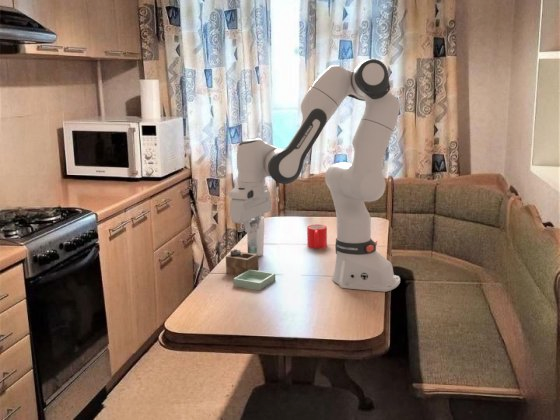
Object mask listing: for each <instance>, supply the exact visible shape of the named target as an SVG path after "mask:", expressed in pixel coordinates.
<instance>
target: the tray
mask: <svg viewBox="0 0 560 420" xmlns="http://www.w3.org/2000/svg"><path fill="white" fill-rule="evenodd" d="M232 280H233V282H232V283H233V286H234V287H238V288H239V287H240V288H244V289H249V290H256V291H262V290H263V289H265V288H266V287H268V286H269V285H271V284H273V283H274V282H275V281H276V273H274V272H268V271H261V270H258V271H256V270H250V269H249V270H248V271H246V272H244V273H242V274H241V275H237V276H235V277H234V278H233V279H232Z"/></svg>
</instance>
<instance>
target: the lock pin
mask: <svg viewBox="0 0 560 420" xmlns="http://www.w3.org/2000/svg"><path fill="white" fill-rule="evenodd" d="M250 226H251V227H252V232H250V233H247V240H246V242H247V253H252V254H253V253H257V220H250Z"/></svg>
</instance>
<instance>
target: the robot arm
mask: <svg viewBox="0 0 560 420" xmlns="http://www.w3.org/2000/svg"><path fill="white" fill-rule="evenodd" d="M390 90H391V85H390V76H389V70H388V67H387V66H386V65H385V63H384V62H382V61H381V60H379V59H375V58H369V59H366V60H363V61H362V62H360V63H359V64H358V65H357V66H356V68H354V69H353V70H348V69H346V68H344V67H343V66H340V65H336V64H335V65H334V64H333V65H330V66H329V67H327V68H326V69H325V70H324V71H323V72H322V73H321V74H320V75H319V76H318V78H317V79H316V80H315V81H314V82H313V83H312V85H311V87H309V88H308V90H307V92H306V93H305V95H304V97H303V99H302V101H301V103H300V112H301V115H302V116H301V117H302V120H301V121H302V122H301V125H300V126H299V128H298V129H297V131H296V133H295V134H294V136H293V138H292V139H291V141H290V142H289V143H288V145H287V146H286V147H285V148H281V147H279V146H275V145H272V144H269V143H267V142H266V141H264V140H263V139H262V138H260V137H253V138H248V139H244V140H242V141H241V142H240V143H239V144H238V147H237V150H236V151H237V153H236V169H237V173H238V175H237V184H236V185H234V187H233V188H232V189H231V190H230V191H229V192H228V198H229V199H230V202H229V216H230V221H231V223H233V224H243V227H244V232H245V233H250V232H252V227H251V226H250V219H253V218H255V219H254V220H257V229H259V223H260V220H261V216H263V215H265V214H267V213H269V212H271V210H272V200H271V198H272V197H271V192H270V190H269V187H268V186H267V184H266V177H271V178H272V180H274V181H275V182H276V183H277V184H282V185H288V184H292V183H293V182H295V181H297V179H298V178H299V177H300V176H301V173H302V169H303V166H304V163H305V160H306V158H307V155H308V154H309V152H310V151H311V149H312V147H313V146H314V145H315V142H316V141H317V139H318V138H319V136H320V135H321V132H322V131H323V130H324V128H325V126H326V125H327V123H328V122H329V121H330V119H331V118H332V117H333V115H334V114H335V113H336V111H337V110H338V108H339V107H340V106H341V104H342V103H343V101H344V100H345V99H346V98H347V97H350V98H352V99H355V100H357V101H360V102H361V101H362V102H365V108H364V112H363V114H362V117H361V119H360V121H359V123H358V126H357V129H356V131H355V133H354V136H353V138H352V141H351V143H352V147H353V149H354V150H353V152H354V153H353V159H352V160H353V161H352V162H344V161H343V162H342V161H341V162H337V163H333V164H330V166H329V167H328V168H327V170H326V171H325V175H324V180H325V184H326V186H327V187H328V189H329V191H330V195H331V197H332V201H333V204H334V209H335V214H336V215H335V216H336V238H335V245H334V246H335V247H334V248H335V254H336V258H335V265H334V270H333V274H332V276H331V279H332V282H334V283H336V284H337V285H339V287H340V288H341V289H352V290H361V291H371V292H383V293H385V292H389V291H392V290H394V289H396V288H397V287H399V285H400V283H401V277H400V275H396V274H395V273H394V267H393V264H392V262H390V260H388V259H387V258H386V257H385V256H383V255H382V254H381V253H380V252H379V251H377V245H378V240H376V241H374V240H373V239H372V237H371V235H372V234H371V232H372V231H371V230H372V229H371V228H372V227H371V226H372V224H371V223H372V221H371V220H372V219H371V218H372V217H371V214H370V213H369V212H370V211H368V209H367V206H366V204H365V203H366V202H367V203H368V202H376V201H377V200H379V199H380V198H382V196H383V195H384V193H385V190H386V185H387V184H386V180H385V177H384V175H383V174H384V173H383V165H384V157H385V153H386V150H387V148H388V146H389V143H390V140H391V138H392V136H393V133H394V129H395V127H396V125H397V121H398V118H399V115H400V110H401V103H400V100H399V99H398V97H396V96H395V95H394V94H392V93H390Z"/></svg>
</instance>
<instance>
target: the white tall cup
mask: <svg viewBox="0 0 560 420" xmlns="http://www.w3.org/2000/svg"><path fill="white" fill-rule="evenodd" d="M254 219H255V218H253V219H250V220H254ZM264 242H265V217H264V216H263V215H261V220H260V223H259V229H257V253H253V254H258V257H260V256H264V245H265V244H264Z"/></svg>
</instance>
